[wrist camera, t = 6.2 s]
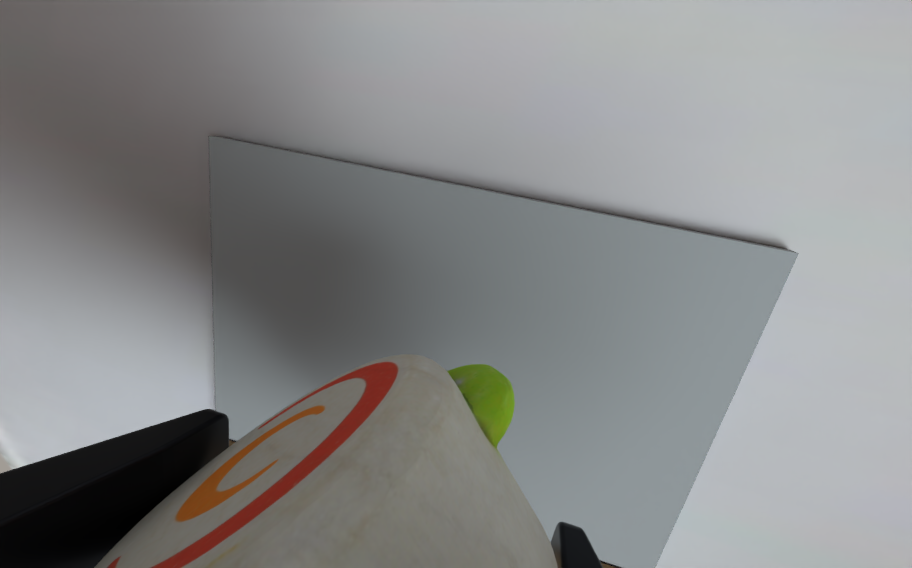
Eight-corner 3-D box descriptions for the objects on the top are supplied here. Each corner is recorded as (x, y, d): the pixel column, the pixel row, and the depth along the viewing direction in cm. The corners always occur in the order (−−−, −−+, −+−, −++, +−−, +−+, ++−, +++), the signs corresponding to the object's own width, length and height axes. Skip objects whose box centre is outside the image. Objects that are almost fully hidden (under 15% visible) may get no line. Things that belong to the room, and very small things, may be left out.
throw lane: (631, 604, 13) (634, 618, 12) (223, 465, 15) (214, 473, 14) (790, 250, 9) (801, 255, 9) (217, 136, 11) (205, 135, 11)
